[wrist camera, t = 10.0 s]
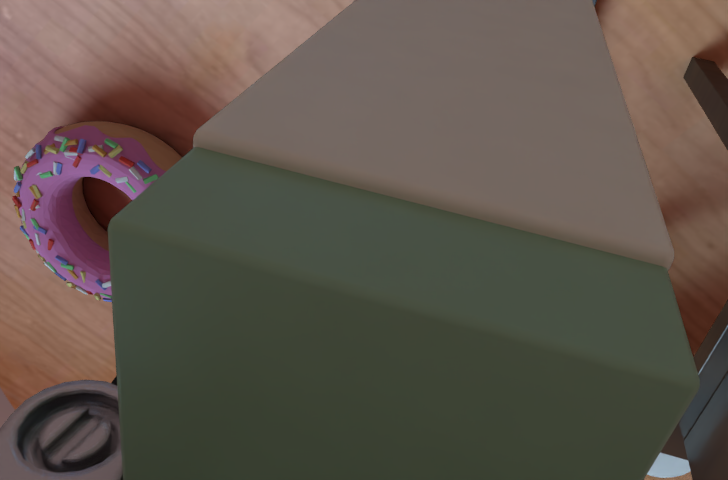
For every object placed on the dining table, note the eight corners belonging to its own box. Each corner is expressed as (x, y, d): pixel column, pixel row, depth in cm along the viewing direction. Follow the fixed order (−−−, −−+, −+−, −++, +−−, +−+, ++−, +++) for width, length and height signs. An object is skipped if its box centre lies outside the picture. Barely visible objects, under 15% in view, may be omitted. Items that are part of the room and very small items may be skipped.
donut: (250, 262, 50) (224, 300, 46) (106, 290, 56) (71, 326, 51) (165, 86, 44) (126, 111, 40) (13, 135, 50) (-36, 162, 45)
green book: (450, -80, 16) (96, 201, 3) (576, -53, 15) (722, 372, 3) (384, 235, 21) (142, 830, 8) (478, 260, 20) (376, 920, 8)
